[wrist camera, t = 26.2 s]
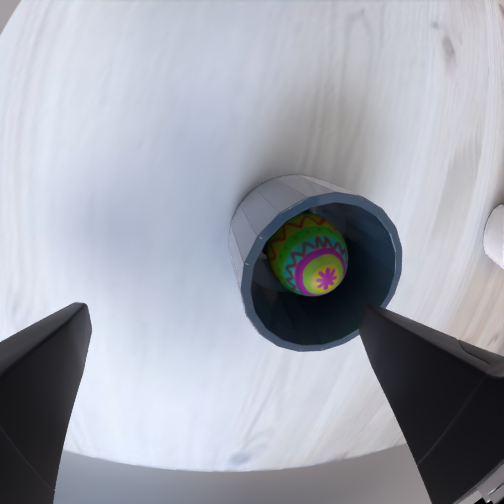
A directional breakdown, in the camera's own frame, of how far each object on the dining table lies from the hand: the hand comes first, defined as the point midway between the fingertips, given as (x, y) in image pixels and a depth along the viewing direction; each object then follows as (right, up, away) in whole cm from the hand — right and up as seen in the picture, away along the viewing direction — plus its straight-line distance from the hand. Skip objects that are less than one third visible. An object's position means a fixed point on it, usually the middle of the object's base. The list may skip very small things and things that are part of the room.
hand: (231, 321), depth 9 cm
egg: (+4, +3, +12) cm, 13 cm away
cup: (+4, +3, +12) cm, 13 cm away
